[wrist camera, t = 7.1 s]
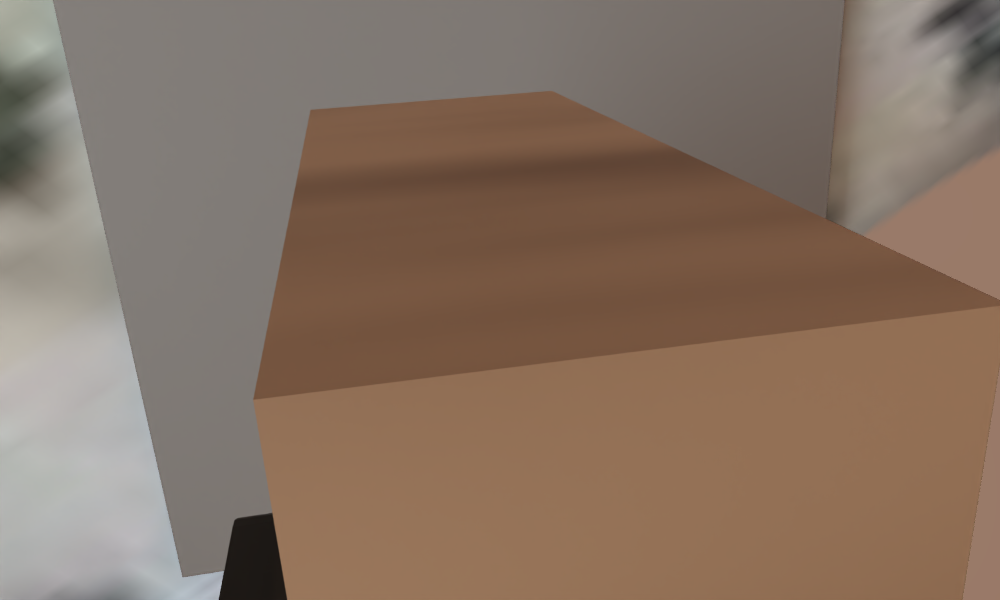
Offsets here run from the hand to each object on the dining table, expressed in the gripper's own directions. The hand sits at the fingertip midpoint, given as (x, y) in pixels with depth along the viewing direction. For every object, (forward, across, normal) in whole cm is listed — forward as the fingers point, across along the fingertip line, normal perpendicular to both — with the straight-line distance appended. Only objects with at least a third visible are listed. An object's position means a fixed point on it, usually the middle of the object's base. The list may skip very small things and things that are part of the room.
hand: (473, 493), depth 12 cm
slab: (+1, 0, 0) cm, 1 cm away
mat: (+9, -2, 0) cm, 9 cm away
